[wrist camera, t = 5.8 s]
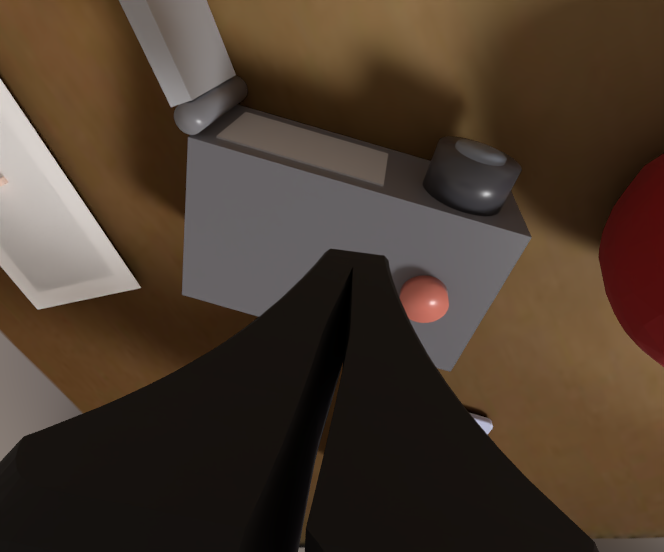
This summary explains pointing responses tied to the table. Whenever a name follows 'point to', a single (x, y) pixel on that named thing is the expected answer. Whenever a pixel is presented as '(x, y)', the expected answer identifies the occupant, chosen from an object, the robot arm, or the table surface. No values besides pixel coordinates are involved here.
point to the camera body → (349, 220)
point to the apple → (638, 259)
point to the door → (187, 59)
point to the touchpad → (49, 223)
